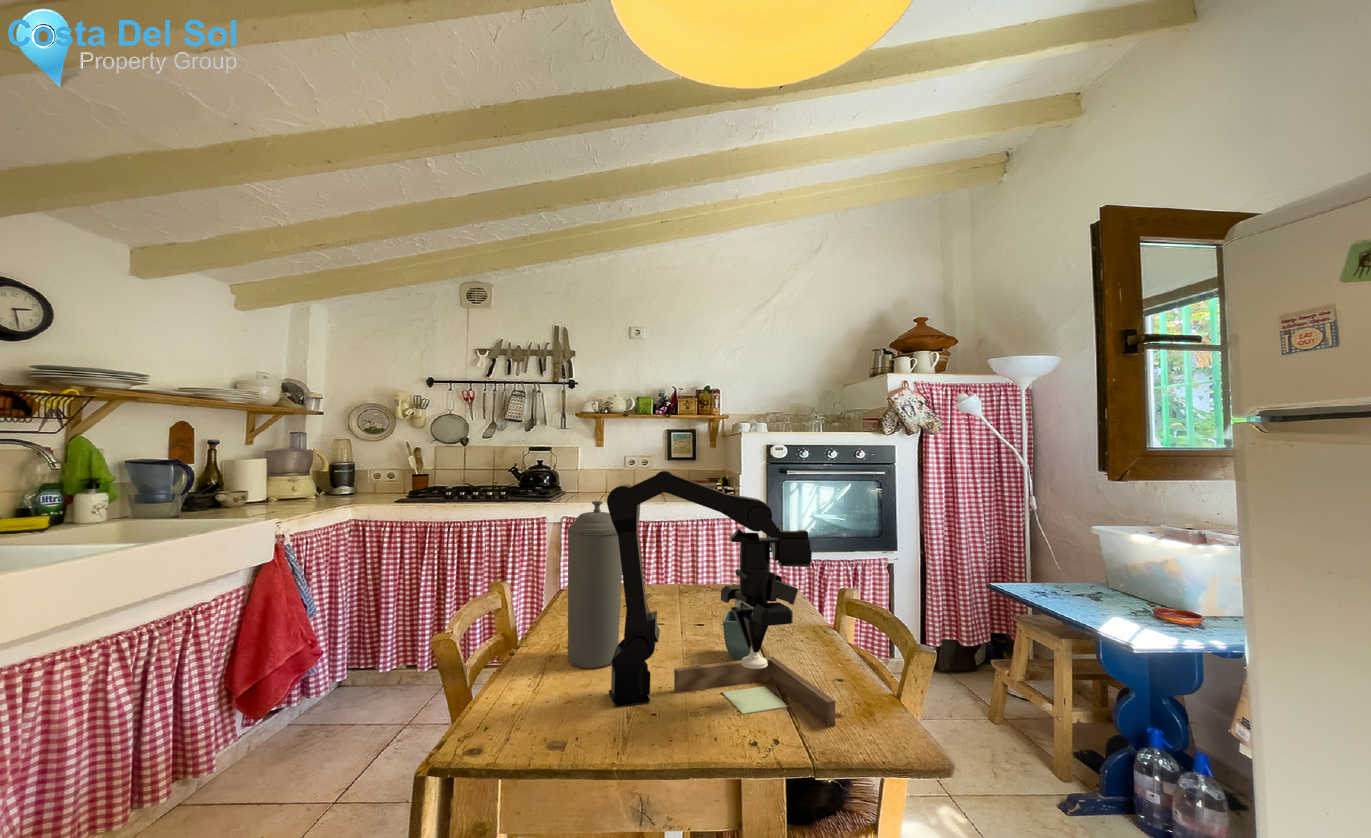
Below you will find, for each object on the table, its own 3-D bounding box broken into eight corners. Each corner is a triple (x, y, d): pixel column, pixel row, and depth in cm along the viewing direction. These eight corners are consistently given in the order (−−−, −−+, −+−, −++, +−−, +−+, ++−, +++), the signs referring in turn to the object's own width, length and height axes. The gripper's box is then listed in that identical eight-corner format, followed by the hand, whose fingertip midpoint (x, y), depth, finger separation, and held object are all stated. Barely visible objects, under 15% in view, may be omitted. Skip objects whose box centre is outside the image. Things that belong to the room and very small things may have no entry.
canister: (553, 658, 122) (557, 500, 124) (601, 646, 130) (605, 497, 133) (582, 676, 112) (587, 504, 115) (633, 661, 121) (636, 501, 123)
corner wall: (718, 746, 86) (719, 719, 86) (674, 689, 106) (674, 668, 107) (835, 725, 93) (835, 701, 93) (772, 676, 114) (772, 656, 114)
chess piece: (737, 666, 101) (737, 610, 102) (745, 658, 106) (745, 605, 107) (763, 670, 99) (763, 613, 100) (770, 662, 104) (770, 607, 105)
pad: (742, 714, 97) (742, 713, 97) (722, 693, 105) (722, 692, 105) (787, 707, 100) (787, 706, 100) (764, 687, 108) (764, 686, 108)
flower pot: (762, 665, 119) (762, 623, 120) (722, 662, 121) (722, 620, 122) (764, 651, 128) (764, 612, 129) (727, 648, 130) (727, 609, 130)
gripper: (818, 573, 98) (818, 663, 97) (768, 555, 115) (768, 631, 114) (763, 577, 94) (762, 670, 93) (720, 557, 112) (719, 636, 111)
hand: (753, 650), depth 103 cm, fingers closed on chess piece
